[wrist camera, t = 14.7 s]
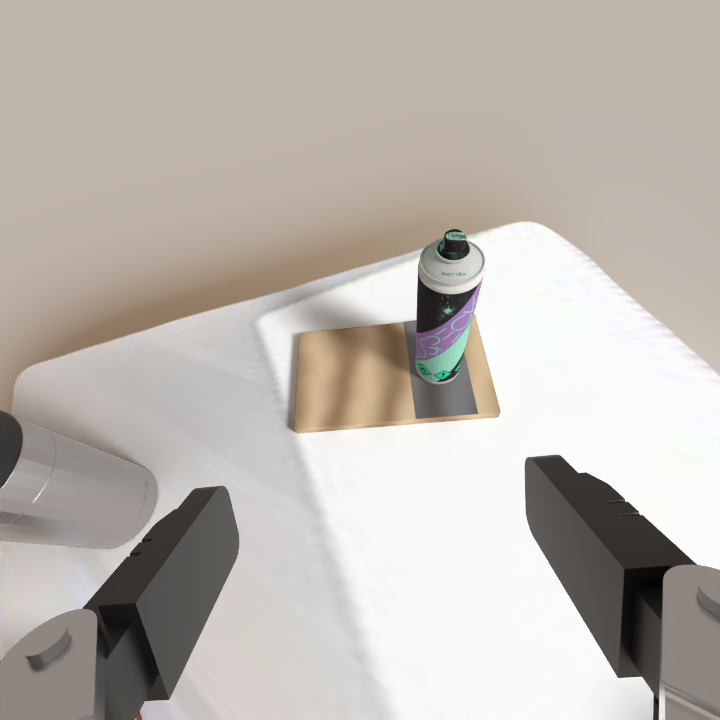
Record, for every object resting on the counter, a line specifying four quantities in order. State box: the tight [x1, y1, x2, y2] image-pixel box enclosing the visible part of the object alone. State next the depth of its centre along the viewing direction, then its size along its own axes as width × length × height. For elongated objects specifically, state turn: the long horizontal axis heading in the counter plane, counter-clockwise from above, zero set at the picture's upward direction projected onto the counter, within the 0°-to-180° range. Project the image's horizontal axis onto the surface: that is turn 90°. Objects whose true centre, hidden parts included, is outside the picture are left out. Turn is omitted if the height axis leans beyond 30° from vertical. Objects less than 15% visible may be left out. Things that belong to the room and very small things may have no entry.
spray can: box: [415, 229, 485, 384], centre depth 36 cm, size 6×6×20 cm
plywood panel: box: [294, 315, 500, 433], centre depth 46 cm, size 24×14×2 cm, turn 93°
